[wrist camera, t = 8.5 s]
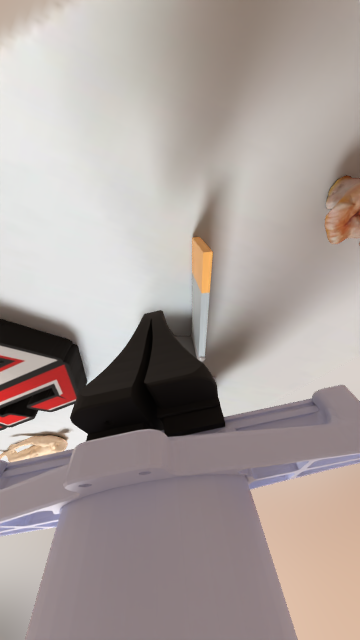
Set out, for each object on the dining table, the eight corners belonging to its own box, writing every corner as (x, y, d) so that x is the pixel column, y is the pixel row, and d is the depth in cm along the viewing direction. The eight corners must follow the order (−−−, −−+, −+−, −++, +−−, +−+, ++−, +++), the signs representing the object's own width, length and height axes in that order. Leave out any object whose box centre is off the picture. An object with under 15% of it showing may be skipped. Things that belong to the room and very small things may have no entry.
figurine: (-24, 466, 40) (37, 445, 36) (-10, 444, 43) (47, 423, 39) (28, 473, 48) (84, 457, 43) (36, 454, 51) (89, 437, 46)
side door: (190, 336, 27) (197, 362, 23) (190, 237, 18) (201, 252, 14) (197, 335, 27) (205, 361, 23) (201, 236, 18) (214, 251, 14)
